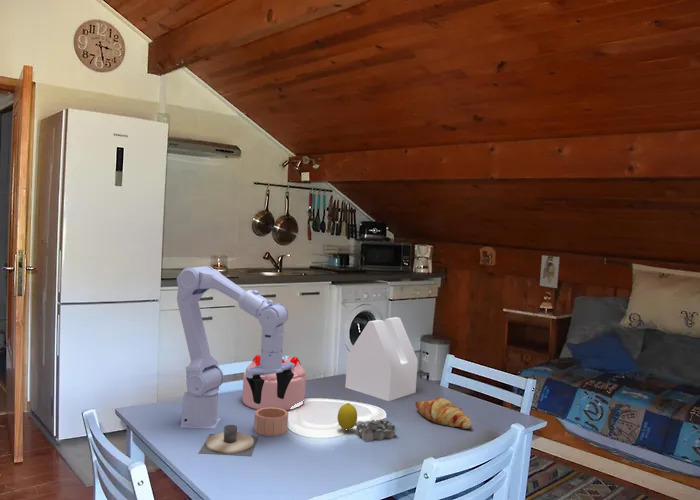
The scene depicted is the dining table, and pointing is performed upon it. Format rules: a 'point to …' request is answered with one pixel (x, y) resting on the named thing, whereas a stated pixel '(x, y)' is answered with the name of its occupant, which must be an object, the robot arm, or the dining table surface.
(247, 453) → the mat
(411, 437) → the dining table surface
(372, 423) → the egg carton
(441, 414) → the croissant
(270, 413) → the bucket
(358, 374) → the white house-shaped block
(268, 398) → the cake
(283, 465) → the dining table surface
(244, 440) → the lid
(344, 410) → the lemon
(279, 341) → the robot arm
